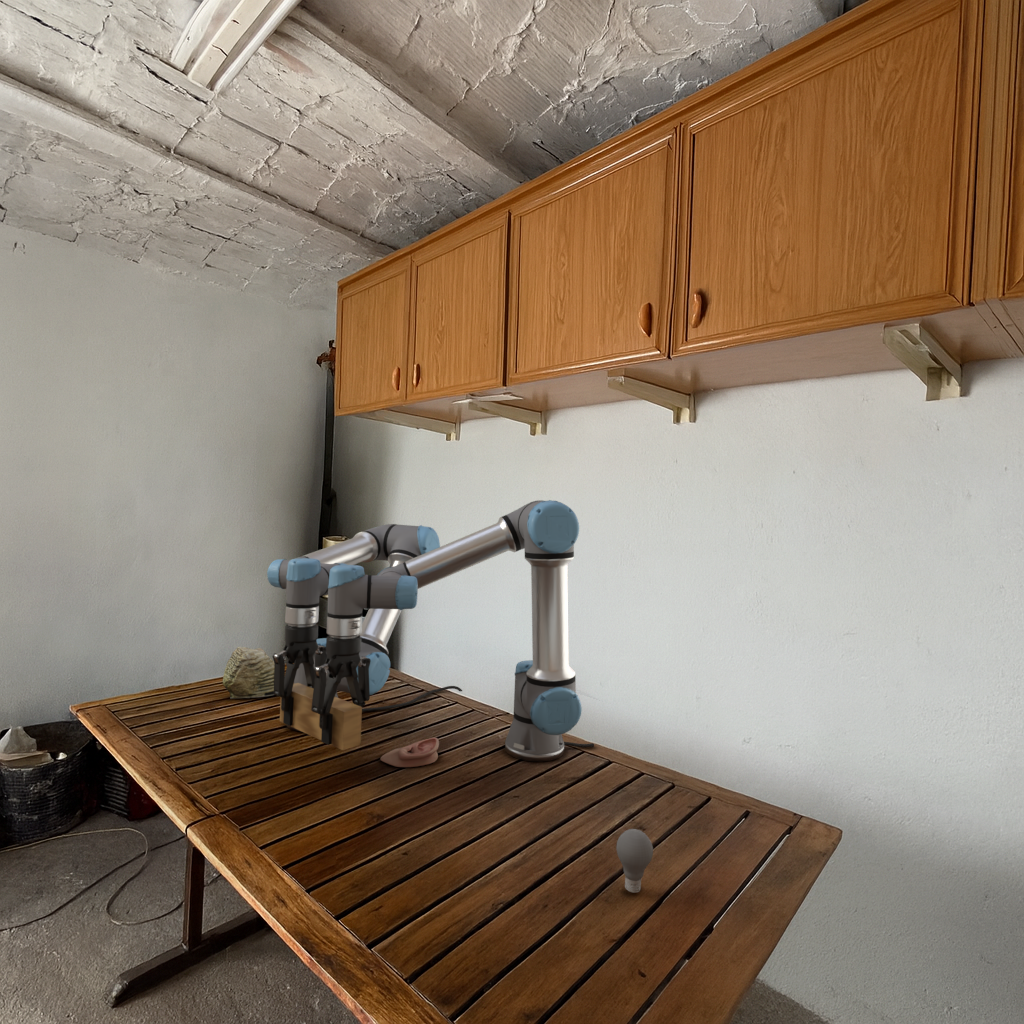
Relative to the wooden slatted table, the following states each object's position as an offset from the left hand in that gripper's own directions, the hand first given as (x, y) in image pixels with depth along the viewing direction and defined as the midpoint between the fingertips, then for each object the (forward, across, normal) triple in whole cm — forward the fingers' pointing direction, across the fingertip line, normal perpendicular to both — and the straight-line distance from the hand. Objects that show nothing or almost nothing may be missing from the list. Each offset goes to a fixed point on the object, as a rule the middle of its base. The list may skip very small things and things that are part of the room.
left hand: (298, 720), depth 151 cm
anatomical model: (+10, +19, -18) cm, 28 cm away
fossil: (+10, +18, +52) cm, 56 cm away
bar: (+1, 0, -8) cm, 8 cm away
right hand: (0, 0, -16) cm, 16 cm away
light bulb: (+10, +9, -84) cm, 86 cm away
